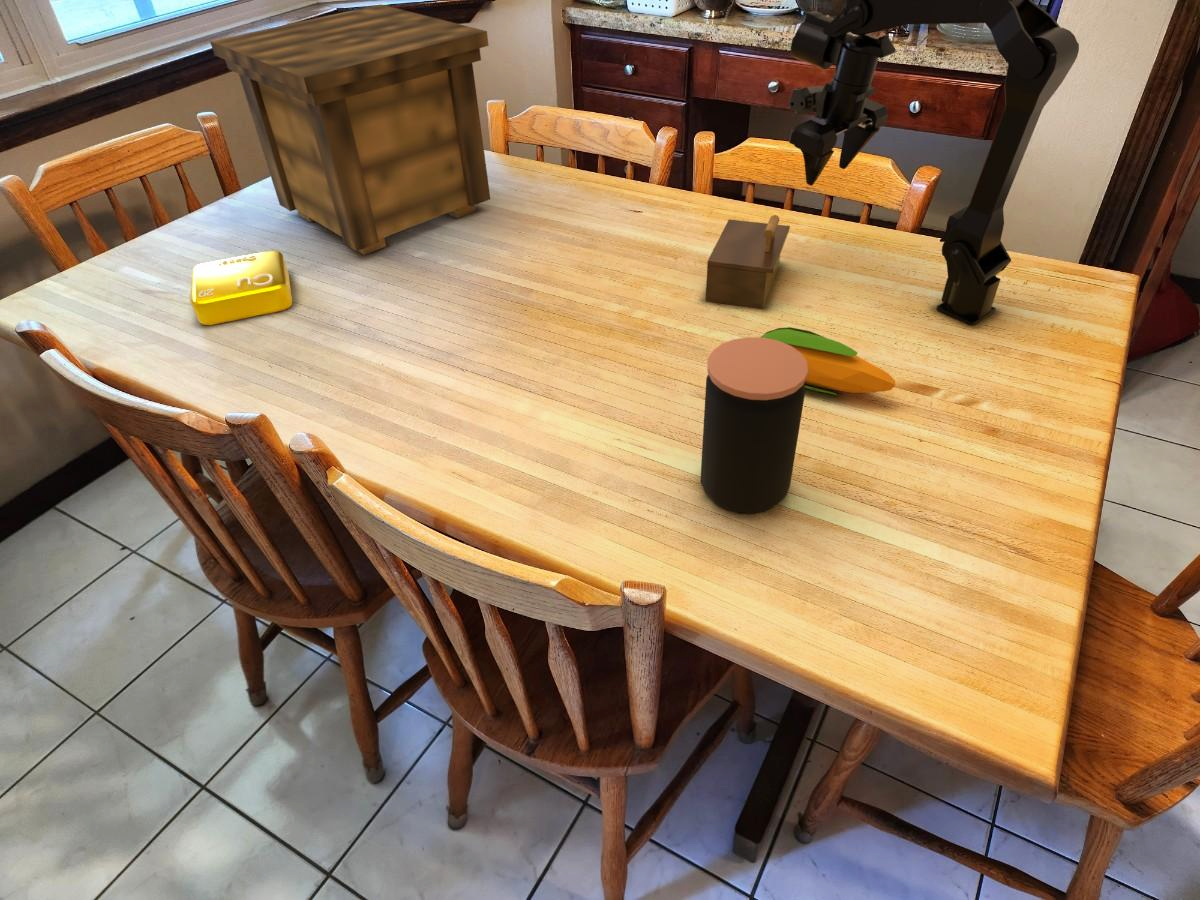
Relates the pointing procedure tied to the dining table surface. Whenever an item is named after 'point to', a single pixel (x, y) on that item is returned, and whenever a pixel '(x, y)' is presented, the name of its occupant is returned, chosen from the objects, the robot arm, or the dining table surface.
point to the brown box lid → (750, 245)
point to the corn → (833, 363)
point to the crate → (366, 118)
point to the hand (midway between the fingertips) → (826, 176)
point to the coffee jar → (751, 422)
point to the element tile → (240, 288)
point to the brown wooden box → (738, 286)
